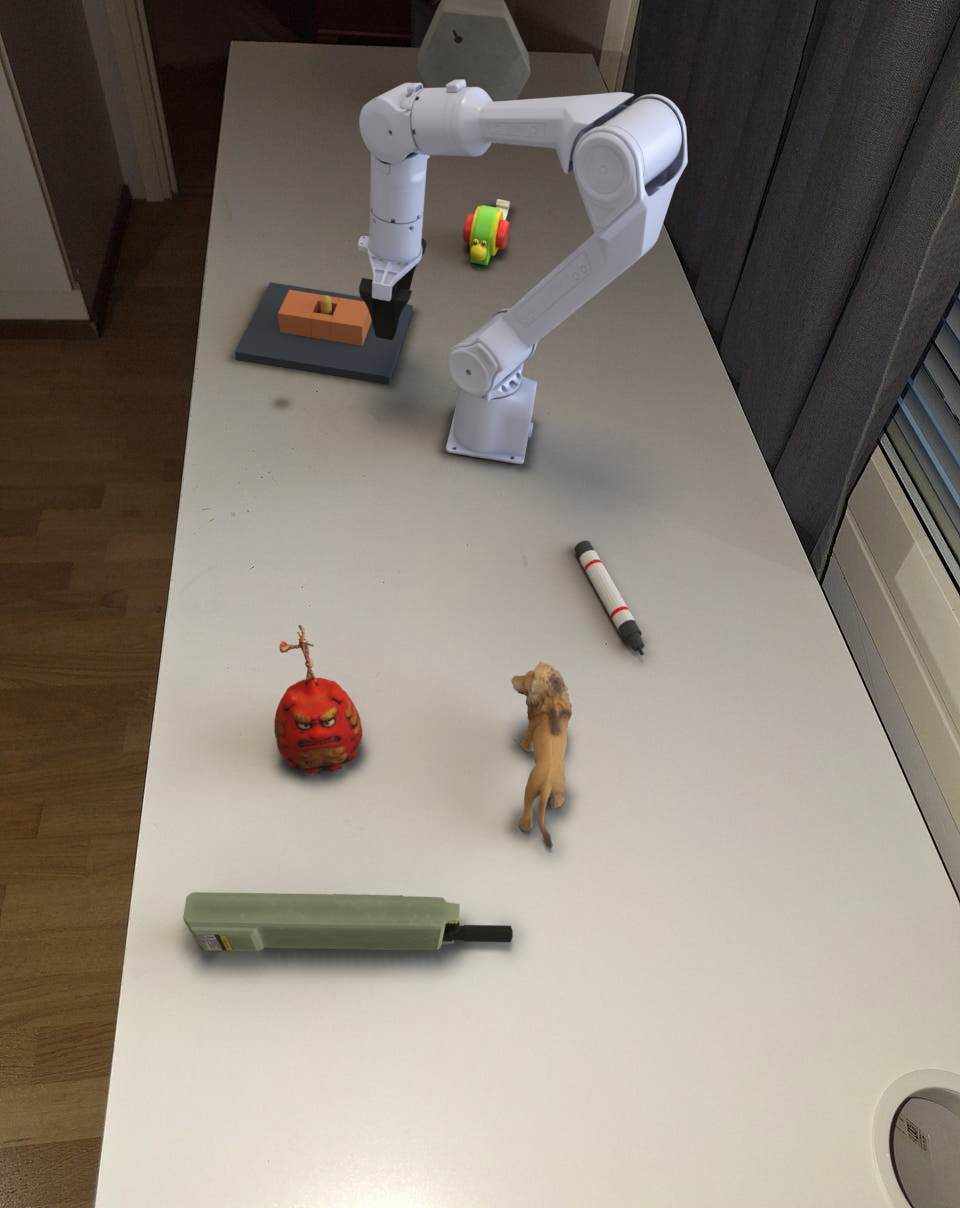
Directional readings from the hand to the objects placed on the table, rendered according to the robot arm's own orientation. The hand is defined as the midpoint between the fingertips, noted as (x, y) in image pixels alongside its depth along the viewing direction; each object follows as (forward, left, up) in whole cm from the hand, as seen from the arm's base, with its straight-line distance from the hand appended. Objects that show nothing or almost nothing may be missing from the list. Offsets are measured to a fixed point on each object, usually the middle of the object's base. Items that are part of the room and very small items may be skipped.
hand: (391, 317), depth 107 cm
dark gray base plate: (+10, -9, -10) cm, 17 cm away
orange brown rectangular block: (+10, -9, -9) cm, 16 cm away
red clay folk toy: (-4, +51, -11) cm, 53 cm away
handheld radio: (-11, +68, -11) cm, 70 cm away
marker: (-30, +29, -11) cm, 43 cm away
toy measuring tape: (-8, -39, -11) cm, 41 cm away
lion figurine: (-24, +50, -11) cm, 57 cm away
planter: (+1, -79, -11) cm, 79 cm away
